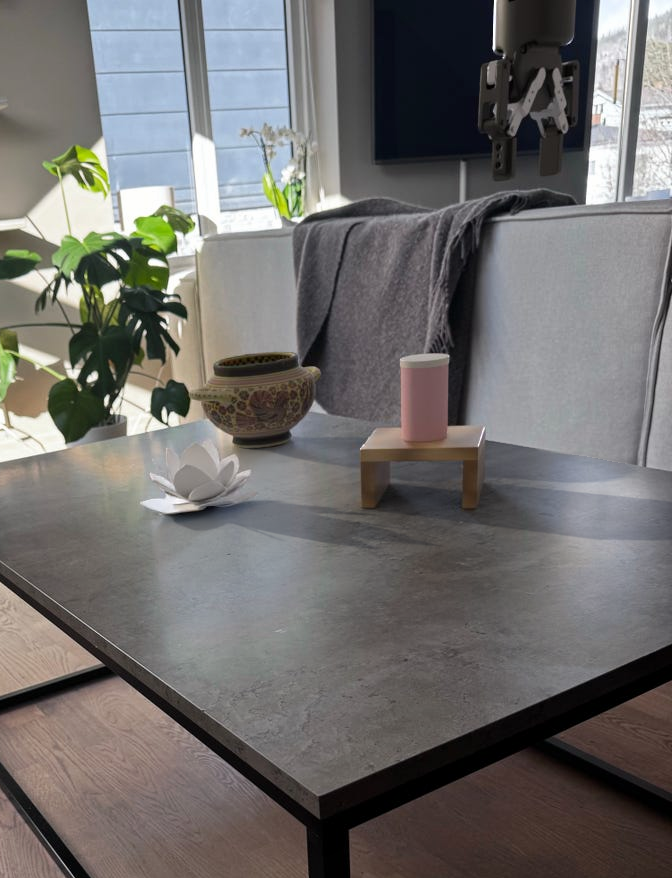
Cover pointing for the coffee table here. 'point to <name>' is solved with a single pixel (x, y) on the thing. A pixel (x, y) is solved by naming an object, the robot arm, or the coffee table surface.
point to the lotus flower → (199, 481)
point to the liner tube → (424, 397)
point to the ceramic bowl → (258, 397)
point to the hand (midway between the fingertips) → (527, 178)
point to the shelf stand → (423, 459)
